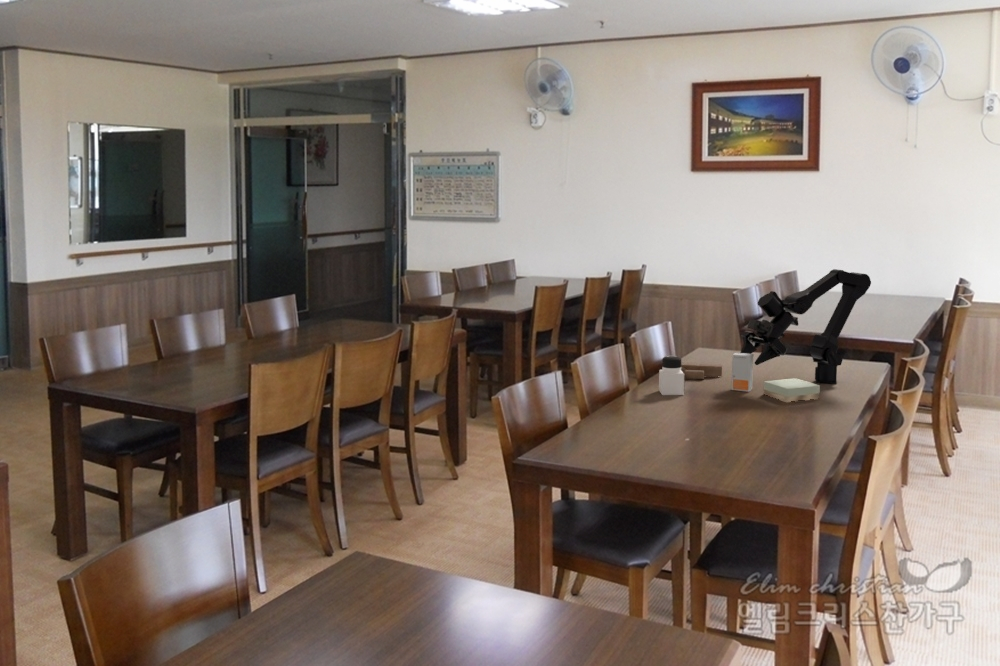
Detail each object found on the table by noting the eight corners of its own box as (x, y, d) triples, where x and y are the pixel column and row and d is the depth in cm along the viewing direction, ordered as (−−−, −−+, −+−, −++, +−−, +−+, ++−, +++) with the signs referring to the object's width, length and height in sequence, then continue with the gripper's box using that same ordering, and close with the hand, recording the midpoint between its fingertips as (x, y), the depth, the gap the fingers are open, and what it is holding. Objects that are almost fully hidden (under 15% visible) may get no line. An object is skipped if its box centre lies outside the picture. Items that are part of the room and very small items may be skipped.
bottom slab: (795, 393, 305) (795, 385, 305) (818, 401, 294) (819, 393, 294) (763, 396, 301) (763, 388, 301) (786, 404, 290) (786, 396, 290)
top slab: (794, 385, 305) (795, 378, 305) (819, 393, 294) (819, 385, 294) (763, 389, 301) (764, 381, 300) (787, 396, 290) (788, 388, 289)
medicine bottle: (684, 395, 302) (685, 358, 300) (662, 395, 302) (662, 358, 300) (680, 390, 309) (681, 354, 307) (658, 390, 309) (659, 354, 307)
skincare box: (730, 390, 308) (731, 354, 306) (734, 387, 311) (735, 352, 309) (749, 392, 305) (750, 355, 303) (752, 389, 309) (753, 353, 307)
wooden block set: (670, 359, 335) (722, 361, 331) (670, 374, 336) (721, 376, 332) (666, 368, 319) (721, 370, 315) (666, 384, 320) (720, 386, 316)
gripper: (746, 306, 315) (717, 341, 313) (780, 313, 298) (749, 350, 296) (766, 328, 319) (736, 363, 317) (800, 336, 301) (769, 373, 299)
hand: (747, 361), depth 307 cm, fingers open, 9 cm apart
